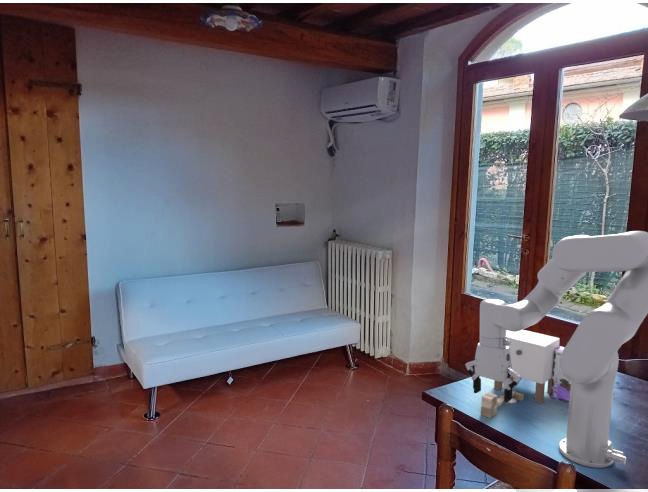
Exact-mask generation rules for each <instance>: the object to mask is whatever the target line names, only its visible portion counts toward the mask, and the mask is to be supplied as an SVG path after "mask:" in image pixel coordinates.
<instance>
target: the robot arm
mask: <svg viewBox="0 0 648 492" xmlns="http://www.w3.org/2000/svg"><path fill="white" fill-rule="evenodd" d="M595 272H597V273H599V272H600V273H601V272H603V273H604V272H606V273H608V272H609V273H610V272H624V274H623V275H622V277H621V279H620V280H618V282H617V284H616V285H615V287H614V289H613V291H612V293H611V294H610V295H609V297H608V298H607V299H606V301H605V302H604V303H603V304H602V305H601V306H599V307H597V308H595V309H593V310H591V311H590V312H588V313H587V314H586V315H585V316H584V318H583V319H581V321H580V323H579V324H578V326H577V327H576V329H575V331H574V332H573V334H572V335H571V337H570V339H569V340H568V341H567V344H566V345H565V348H564V350H563V352H562V354H561V357H560V367H561V370H562V372H563V374H564V375H565V377H566V378H567V379H569V380H570V381H571V389H570V400H569V402H568V411H567V412H568V414H567V423H566V425H567V426H566V437H565V438H563V439H561V440H560V441H559V443H558V447H559V448H558V450H559V451H560V453H561V454H562V455H563V456H564V457H565V458H566V459H568V460H570V461H571V462H573V463H575V464H579V465H582V466H585V467H590V468H595V469H596V468H598V469H601V468H603V469H604V468H607V467H610V466H612V465H613V463H614V461H615V462H617V463H618V464H621V465H626V463H627V456H625V455H624V451H621V450H620V449H619V450H618V449H615V448H614V447H612V444H613V443H612V441H611V440H609V437H610V436H609V435H610V426H611V417H612V407H613V405H612V404H613V396H614V388H615V383H616V376H617V372H618V368H619V363H620V362H619V361H620V360H619V353H618V351H619V349H620V348H621V347H622V345H623V344H625V343H626V342H629V341H630V340H631V339H632V338H633V337H634V336H635V335H636V333H637V331H638V329H639V328H640V326H641V324H642V323H643V322H644V319H645V318H646V317H647V316H648V232H647V231H644V230H632V231H631V230H630V231H627V232H621V233H617V234H615V233H614V234H604V235H603V234H602V235H593V236H590V235H587V234H577V235H572V236H566V237H563V238H562V239H560V240H559V241H558V242H557V243H555V245H554V246H553V250H552V254H551V259H550V260H549V261H547V262H546V263H545V265H544V266H543V267H542V268H540V270H539V271H538V272H537V275H536V276H537V280H538V282H537V284H536V285H535V287H534V288H533V289H532V290H531V291H530V292H529V293H528V294H527V295H526V296H525V297H524V298H523V299H521V300H519V301H516V302H514V303H509V304H507V303H506V301H504V300H502V299H498V298H497V299H496V298H485V299H483V300H482V301H480V304H479V342H478V343H477V345H476V350H475V357H474V360H471V361H467V362H466V363H465V364H464V365H465V367H466V369H467V373H468V374H469V376H470V377H471V380H472V381H473V382H472V389H473V393H474V394H477V393H479V392H481V390H482V379H481V377H482V378H485V379H489V380H492V381H494V380H496V381H500V382H502V383H503V384H502V385H503V386H504V387H505V388H504V389H503V391H504V392H503V394H504V402H506V403H505V404H508V403H507V402H509V401H510V400H511V399H512V391H513V388H515V387H516V386H517V385H518V384H519V383H520V381H521V380H522V379H523V378H522V376H521V375H519V374H518V373H517V372H515V371H514V370H513V369H512V361H511V354H510V349H509V347H508V346H506V345H510V344H511V341H509V340H507V337H506V330H508V331H513V332H516V331H520V330H525V329H527V328H530V327H531V326H534V325H536V324H538V323H539V322H540V321H542V319H543V318H545V317H546V316H547V315H548V314H549V313H550V312H551V311H552V310H553V309H554V308H555V306H556V305H558V304H559V302H560V301H561V300H562V299H563V298H564V295H565V294H566V293H567V292H568V291H570V290H571V288H572V287H573V286H574V285H576V284H577V283H578V282H579V280H581V279H582V278H583V277H584V276H585V275H586V274H587V273H595ZM473 366H474V368H473ZM512 376H513V377H514V381H511V379H510V378H511V377H512ZM504 402H503V403H504Z"/></svg>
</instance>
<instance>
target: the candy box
mask: <svg viewBox="0 0 648 492" xmlns="http://www.w3.org/2000/svg"><path fill="white" fill-rule="evenodd" d="M565 347H566V346H565ZM565 347H564V346H561V345H559V348H557V349H556V350H555V355H554V367H553V378H552V391H551V393H550V397H551V398H552V399H555V400H560V401H563V402H566V403H569V400H570V389H571V381H570V380H569V379H567V378H566V377H565V375H564V374H563V372H562V370H561V367H560V357H561V354H562V352H563V350H564V348H565Z"/></svg>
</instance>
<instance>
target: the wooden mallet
mask: <svg viewBox="0 0 648 492" xmlns="http://www.w3.org/2000/svg"><path fill="white" fill-rule="evenodd" d="M501 395H502V394H501ZM501 395H500V397H498V395H497V394H494V393H492V392H486V393H485V394H483V395H482V396H481V403H480V404H481V406H480V416H482V417H486V418H489V419H491V418H493V417H494V416H496V415H497V410H498V409H497V408H498V407H499V406H500V405H502V404H503V403H504V395H502V396H501ZM524 395H525V394H524V393H521V392H519V391H515V390H512V396H515V397H516V398H517V401H520V402H522V401H524Z"/></svg>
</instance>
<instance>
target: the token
mask: <svg viewBox="0 0 648 492" xmlns="http://www.w3.org/2000/svg"><path fill="white" fill-rule="evenodd" d="M502 395H504V393H503V394H501V395H500V397H501V396H502ZM517 401H518V400H517V398H516V397H515V396H512V399H511V400H510V401H509V402H507V403H506V402H503V403H505V404H510V405H514V404H516V403H517Z"/></svg>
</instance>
